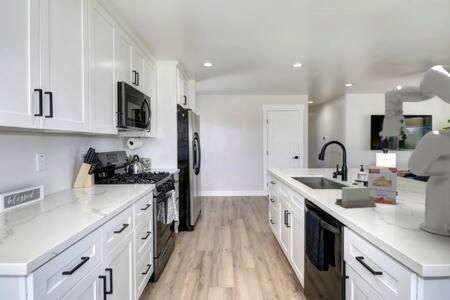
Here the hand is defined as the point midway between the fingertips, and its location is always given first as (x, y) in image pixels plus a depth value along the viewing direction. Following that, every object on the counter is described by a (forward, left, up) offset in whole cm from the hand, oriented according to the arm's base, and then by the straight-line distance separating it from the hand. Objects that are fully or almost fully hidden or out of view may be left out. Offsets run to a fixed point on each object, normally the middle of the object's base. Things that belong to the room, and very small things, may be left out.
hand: (393, 148), depth 129 cm
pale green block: (+13, +11, -31) cm, 35 cm away
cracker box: (+17, -9, -32) cm, 38 cm away
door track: (+13, +11, -32) cm, 36 cm away
